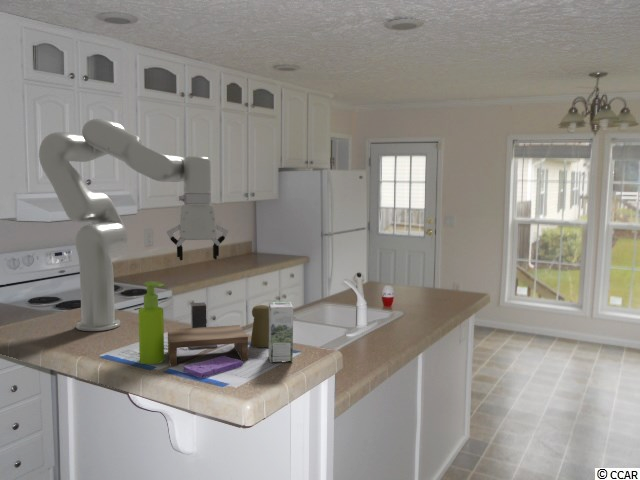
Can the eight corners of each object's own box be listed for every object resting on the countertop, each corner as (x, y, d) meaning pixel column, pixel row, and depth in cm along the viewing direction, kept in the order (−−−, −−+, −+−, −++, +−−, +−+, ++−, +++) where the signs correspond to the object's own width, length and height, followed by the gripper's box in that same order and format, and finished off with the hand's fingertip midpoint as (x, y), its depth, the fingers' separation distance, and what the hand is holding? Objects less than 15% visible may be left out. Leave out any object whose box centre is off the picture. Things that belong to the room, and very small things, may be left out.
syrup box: (290, 355, 148) (290, 300, 146) (293, 362, 142) (293, 306, 140) (268, 356, 147) (268, 301, 145) (270, 363, 141) (270, 306, 140)
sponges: (183, 373, 135) (182, 366, 134) (224, 361, 144) (224, 354, 144) (201, 380, 130) (201, 372, 130) (242, 367, 140) (242, 360, 139)
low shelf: (167, 352, 149) (167, 329, 149) (239, 346, 155) (239, 325, 155) (170, 366, 138) (170, 342, 137) (247, 359, 144) (247, 336, 143)
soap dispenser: (154, 366, 138) (153, 285, 136) (134, 361, 141) (132, 282, 139) (172, 359, 143) (170, 281, 141) (152, 355, 146) (150, 278, 144)
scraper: (186, 333, 168) (185, 303, 167) (210, 331, 170) (209, 302, 169) (190, 348, 153) (190, 316, 152) (217, 346, 155) (216, 314, 154)
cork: (268, 348, 154) (268, 308, 152) (247, 347, 155) (247, 307, 154) (274, 342, 159) (275, 304, 158) (254, 341, 161) (254, 302, 159)
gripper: (166, 200, 156) (167, 262, 158) (229, 200, 161) (230, 260, 163) (165, 199, 163) (166, 258, 165) (225, 199, 169) (226, 256, 170)
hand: (198, 259), depth 164 cm, fingers open, 9 cm apart
